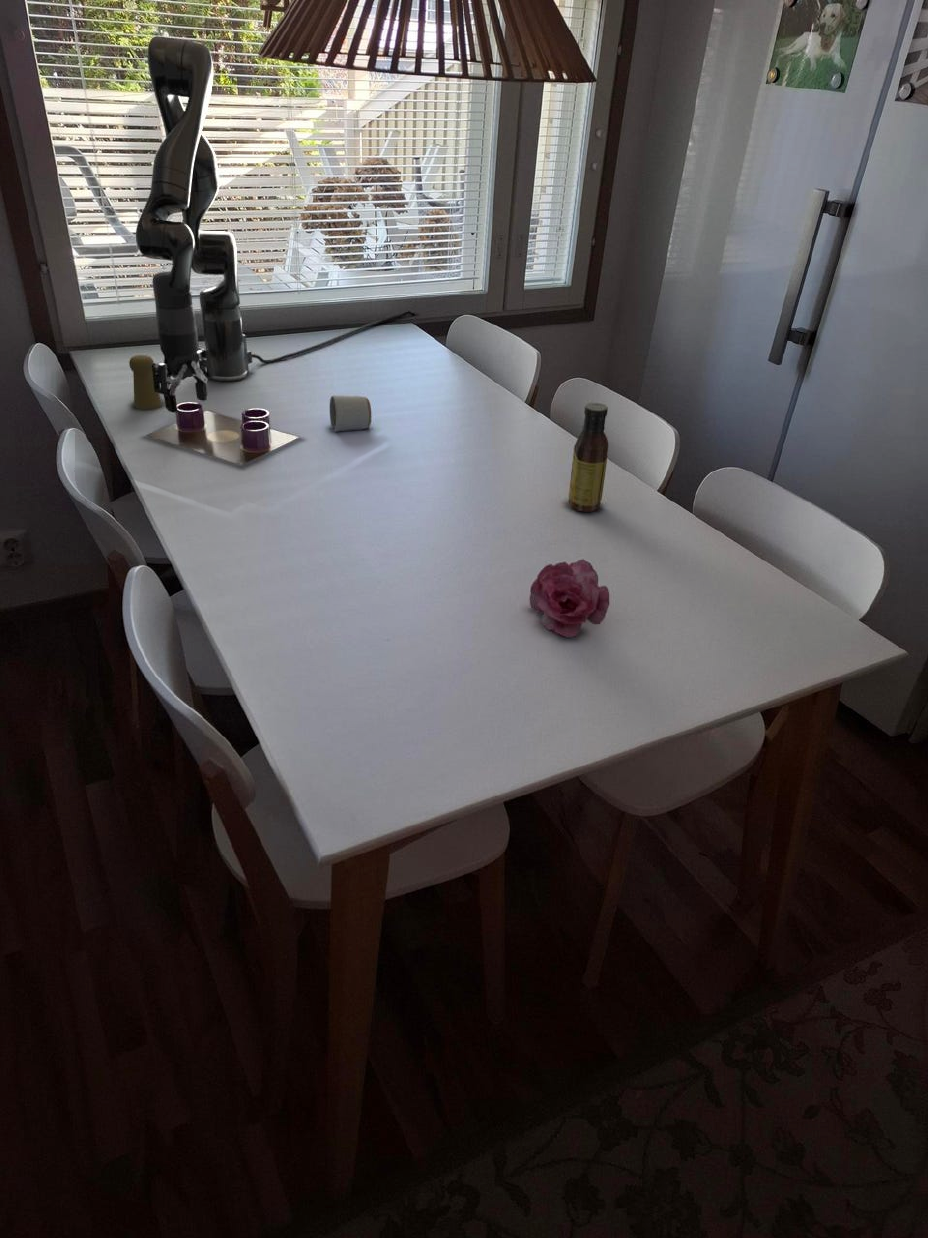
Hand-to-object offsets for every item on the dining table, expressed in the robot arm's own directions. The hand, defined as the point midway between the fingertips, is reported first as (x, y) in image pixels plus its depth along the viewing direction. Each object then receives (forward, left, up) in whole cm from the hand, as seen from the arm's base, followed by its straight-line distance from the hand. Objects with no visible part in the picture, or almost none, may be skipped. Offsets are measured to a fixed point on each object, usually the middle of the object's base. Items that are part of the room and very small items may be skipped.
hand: (187, 405), depth 181 cm
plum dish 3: (0, +18, -5) cm, 19 cm away
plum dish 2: (-5, +14, -5) cm, 16 cm away
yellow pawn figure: (-5, -18, -5) cm, 19 cm away
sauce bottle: (-15, +85, -5) cm, 87 cm away
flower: (+23, +98, -5) cm, 101 cm away
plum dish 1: (0, +1, -5) cm, 5 cm away
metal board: (0, +9, -5) cm, 11 cm away
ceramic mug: (-21, +26, -5) cm, 34 cm away
